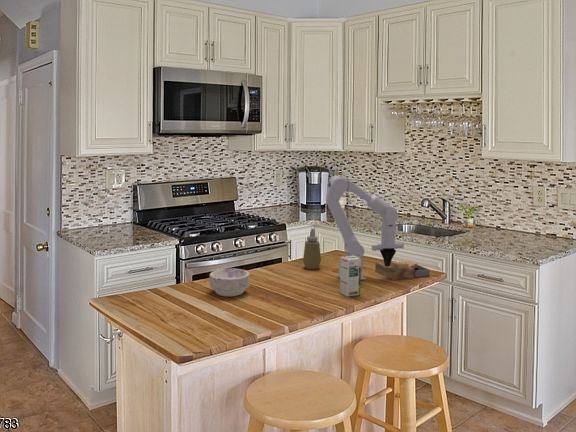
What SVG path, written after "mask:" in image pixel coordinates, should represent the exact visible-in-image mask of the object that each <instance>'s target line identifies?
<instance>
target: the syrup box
mask: <svg viewBox="0 0 576 432" xmlns="http://www.w3.org/2000/svg"><path fill="white" fill-rule="evenodd" d="M340 259H341V276H340V277H339V278H340V280H339V281H340V285H339V286H340V290H339V293H340V294H341V295H343V296H346V297H347V298H348V297H354V296H355V297H356V296H360V295H361V281H362V280H361V258H359V257H357V256H346V255H345V256H341V257H340Z"/></svg>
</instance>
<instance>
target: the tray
mask: <svg viewBox="0 0 576 432" xmlns="http://www.w3.org/2000/svg"><path fill="white" fill-rule="evenodd" d="M404 262H405V263H407V262H408V261H404ZM417 266H418V267H417V268H415V269H414V278H413V279H418V278H425V277H430V269H429V268H426V267H424V266H421V265H420V264H417Z"/></svg>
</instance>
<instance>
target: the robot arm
mask: <svg viewBox="0 0 576 432" xmlns="http://www.w3.org/2000/svg"><path fill="white" fill-rule="evenodd" d="M345 192H347V193H353V194H354V195H356V196H357V197H359V198H361V199H362V200H364V201H365V202H366V206H367V207H368V208H370V210H372V211H374V212H375V213H377V214H378V215H380V216H381V237H380V238H381V239H380V242H381V243H379V244H374V245H371V251H373V252H374V251H375V252H376V251H379V252H380V254H381V256H382V259H383V262H384V264H385V266H387V267H389V266H390V264H391V261H393V257H394V256H395V254H396V252H397V250H396V249H404V248H405V244H404V243H401V242H399V243H397V242H396V231H397V230H396V229H397V228H396V227H397V226H396V225H397V224H396V221H397V219H398V217H399V213H398V210H397V209H396V208H395V207H393V206H391V204H390V203H389V202H387V201H385V200H384V199H382V196H380V195H376V194H374V195H371V194H369V193H368V192H367V191H366V190H364V189H363V188H361V186H359V185H358V184H357V183H355V182H353V181H350V180H348V179H347V178H346V177H344V176H343V177H342V176H341V175H338V174H334V175H332V176H330V178H329V180H328V182H327V183H326V196H325V202H326V204H327V207H328V209H329V211H330V212H331V216H332V217H333V219H334V222H335V223H336V225H337V226H336V227H337V228H338V230H339V233H340V235H341V237H342V239H343V241H342V242H343V243H344V250H345V252H346V254H345V257H346V256H357V257H359V258H361V281H363V280H367V278H366V277H364V276H363V263H364V262H363V261H364V258H363V257H364V254H365V248H364V246H363V245H362V244H361V243H360V242H359V240H358V238H357V237H356V236H355V234H354V230H353V229H352V227H351V225H350V223H349V220H348V217H347V216H346V213H345V212H344V210H343V207H342V206H341V203H340V199H341V197H342V196H343V195H344V194H345ZM340 276H341V258H340V259H339V262H338V276H337V277H338V278H340Z"/></svg>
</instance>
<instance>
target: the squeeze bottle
mask: <svg viewBox="0 0 576 432" xmlns="http://www.w3.org/2000/svg"><path fill="white" fill-rule="evenodd" d="M318 238H319V237H318V236H316V234H315V229H314V228H310V234H309V235H308V236H307V237H306V240H307V241H305V242H304V249H303V257H302V258H303V264H304V268H305V269H307V270H313V271H314V270H318V269H319V267H320V264H321V262H322V259H321V258H322V257H321V245H320V242H319V241H318V240H319V239H318Z"/></svg>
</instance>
